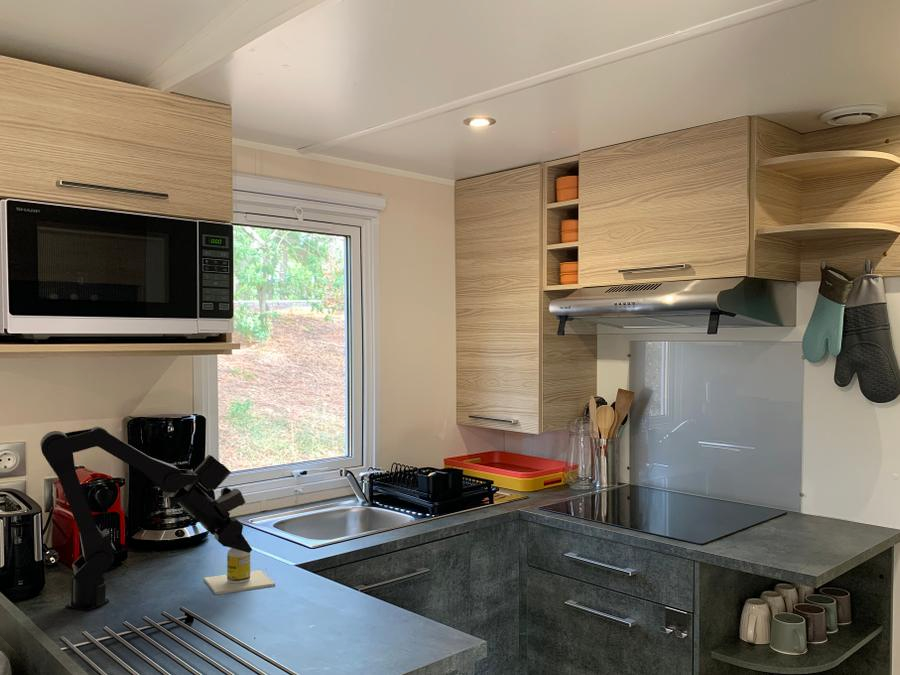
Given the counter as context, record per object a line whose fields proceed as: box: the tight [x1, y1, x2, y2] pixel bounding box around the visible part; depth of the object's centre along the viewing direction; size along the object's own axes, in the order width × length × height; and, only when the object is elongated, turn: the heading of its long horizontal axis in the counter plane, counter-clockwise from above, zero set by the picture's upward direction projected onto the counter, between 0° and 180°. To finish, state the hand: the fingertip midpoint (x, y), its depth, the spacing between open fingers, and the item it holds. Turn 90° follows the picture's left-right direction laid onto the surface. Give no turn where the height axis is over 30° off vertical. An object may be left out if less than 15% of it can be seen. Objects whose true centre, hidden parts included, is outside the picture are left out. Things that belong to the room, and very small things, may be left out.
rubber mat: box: [203, 569, 276, 595], centre depth 184 cm, size 14×12×1 cm
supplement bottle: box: [226, 538, 251, 584], centre depth 184 cm, size 5×5×10 cm
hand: (245, 546), depth 185 cm, fingers open, 9 cm apart
